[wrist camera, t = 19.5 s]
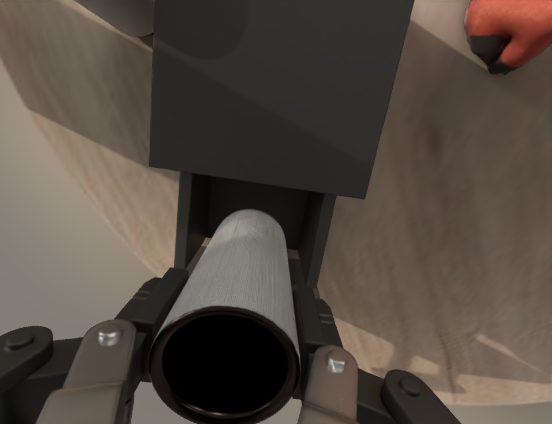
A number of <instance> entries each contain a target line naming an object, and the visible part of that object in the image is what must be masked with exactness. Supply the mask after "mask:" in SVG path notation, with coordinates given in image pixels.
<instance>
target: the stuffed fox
mask: <svg viewBox="0 0 552 424" xmlns="http://www.w3.org/2000/svg"><path fill="white" fill-rule="evenodd" d="M466 11H467V13H466V17H465V20H464V29H465V30H466V33H467V41H468V42H469V44H470V48H471V51H472V52H473V53H474V54H476V55H477V56H479V57H481V58H482V60H483V61H485V62H487V65H488V71H489V73H491V74H496V75H498V74H500V75H502V74H503V75H506V74H508V73H509V72H511V71H514V70H516V69H517V68H519V67H521V66H522V65H524V64H525V63H527V62H528V61H530V60H531V59H532V58H534V57H535V56H537V55H538V54H540V53H541V52H542V51H544V50H545V49H546V48H547V47H548V46H549V45H550V44H552V0H472V1H471V2H470V6H469V7H468V8H466Z"/></svg>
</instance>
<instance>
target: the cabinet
mask: <svg viewBox="0 0 552 424" xmlns="http://www.w3.org/2000/svg"><path fill="white" fill-rule="evenodd" d="M413 4H414V0H155V4H154V34H153V63H152V93H151V123H150V153H149V166H150V167H156V168H162V169H169V170H175V171H182V172H189V173H195V174H202V175H208V176H215V177H221V178H228V179H234V180H241V181H247V182H254V183H260V184H267V185H274V186H280V187H287V188H293V189H300V190H306V191H313V192H319V193H326V194H332V195H339V196H346V197H352V198H359V199H365V196H366V192H367V188H368V184H369V180H370V176H371V172H372V168H373V164H374V160H375V156H376V152H377V148H378V144H379V140H380V136H381V132H382V128H383V124H384V120H385V116H386V112H387V108H388V104H389V100H390V96H391V92H392V88H393V84H394V80H395V76H396V72H397V68H398V64H399V60H400V56H401V52H402V48H403V44H404V40H405V36H406V32H407V28H408V24H409V20H410V16H411V12H412V8H413Z"/></svg>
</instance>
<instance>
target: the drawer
mask: <svg viewBox="0 0 552 424" xmlns="http://www.w3.org/2000/svg"><path fill="white" fill-rule="evenodd" d="M336 196H337V195H332V194H326V193H319V192H313V191H306V190H300V189H293V188H287V187H280V186H274V185H267V184H260V183H254V182H247V181H241V180H234V179H228V178H221V177H215V176H208V175H202V174H195V173H189V172H182V171H180V181H179V197H178V212H177V228H176V244H175V259H174V268H179V269H187V270H188V271H189V277H190V276H191V274H192V272H193V270H194V269H195V267H196V265H197V263H198V262H199V260H200V258H201V256H202V255H203V253H204V251H205V249H206V248H207V247H204V246H201V245H202V243H203V242H204V240H205V239H206V237H207V238H212V237H213V235H214V234H215V232H216V230H217V228H218V227H219V225H220V224H221V223H222V221H223V220H224V219H225V218H226V217H228V216H229V215H230V214H232V213H234V212H236V211H239V210H244V209H256V210H260V211H263V212H265V213H267V214H269V215H271V216H272V217H273V218H274V219H275V220H276V221H277V222H278V223H279V224H280V226H281V228H282V230H283V233H284V236H285V241H286V248H287V249H292V250H298V254H299V259H300V260H297V259H290V258H288V265H289V273H290V281H291V289H292V295H293V289H294V286H295V284H298V285H305V286H312V288H313V292H314V296H315V298H316V299H320V296H319V292H318V289H317V282H318V277H319V273H320V268H321V264H322V259H323V255H324V250H325V246H326V241H327V237H328V232H329V228H330V223H331V218H332V214H333V209H334V205H335V200H336Z"/></svg>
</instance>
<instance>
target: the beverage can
mask: <svg viewBox="0 0 552 424" xmlns="http://www.w3.org/2000/svg"><path fill="white" fill-rule="evenodd" d="M75 1H76V2H78V3H79V4H81V5H82V6H84V7H85V8H87V9H88V10H90V11H91V12H93V13H94V14H96V15H97V16H99V17H100V18H102V19H103V20H105V21H106V22H108V23H109V24H111V25H112V26H114V27H115V28H117V29H118V30H120V31H121V32H123V33H125V34H127V35H129V36H135V37H141V36H146V35H148V34H151V33H153V32H154V4H155V0H75Z"/></svg>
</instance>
